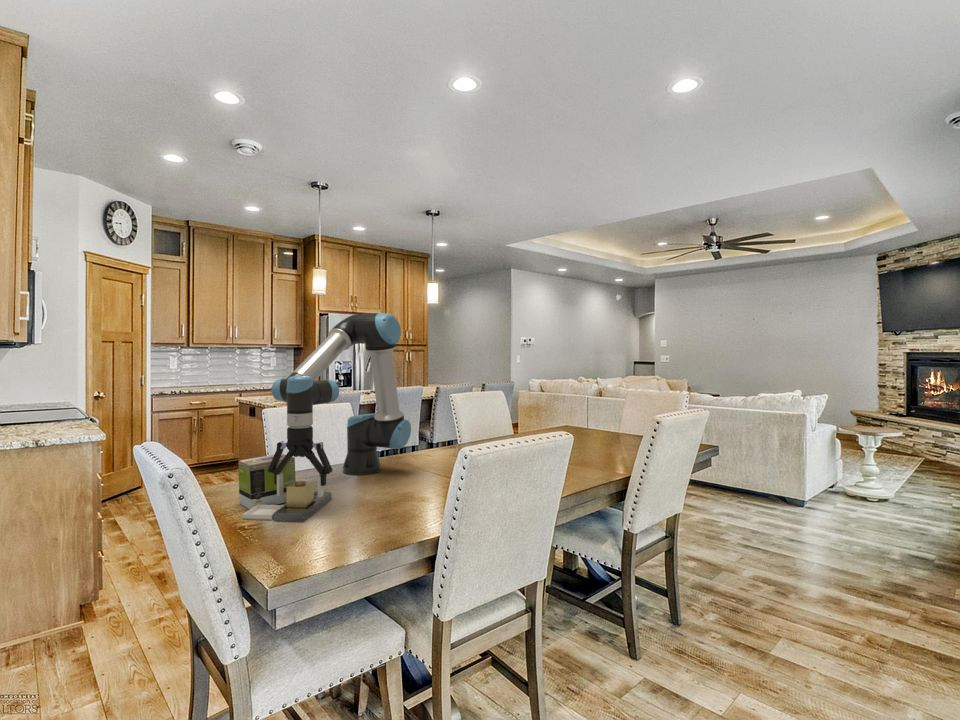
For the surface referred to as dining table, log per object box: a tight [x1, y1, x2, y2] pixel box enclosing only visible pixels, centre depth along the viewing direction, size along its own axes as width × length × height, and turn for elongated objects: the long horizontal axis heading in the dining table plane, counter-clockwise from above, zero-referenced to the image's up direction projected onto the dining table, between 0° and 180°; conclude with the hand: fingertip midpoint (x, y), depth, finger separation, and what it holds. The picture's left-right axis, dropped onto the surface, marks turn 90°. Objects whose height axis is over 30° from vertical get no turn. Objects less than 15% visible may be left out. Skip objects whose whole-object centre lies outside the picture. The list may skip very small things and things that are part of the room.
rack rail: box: [273, 491, 333, 523], centre depth 164 cm, size 22×9×3 cm, turn 175°
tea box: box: [238, 452, 297, 510], centre depth 171 cm, size 15×10×15 cm
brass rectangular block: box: [286, 480, 315, 509], centre depth 161 cm, size 6×6×10 cm
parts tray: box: [242, 504, 285, 521], centre depth 159 cm, size 9×9×2 cm
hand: (300, 495), depth 161 cm, fingers open, 12 cm apart
